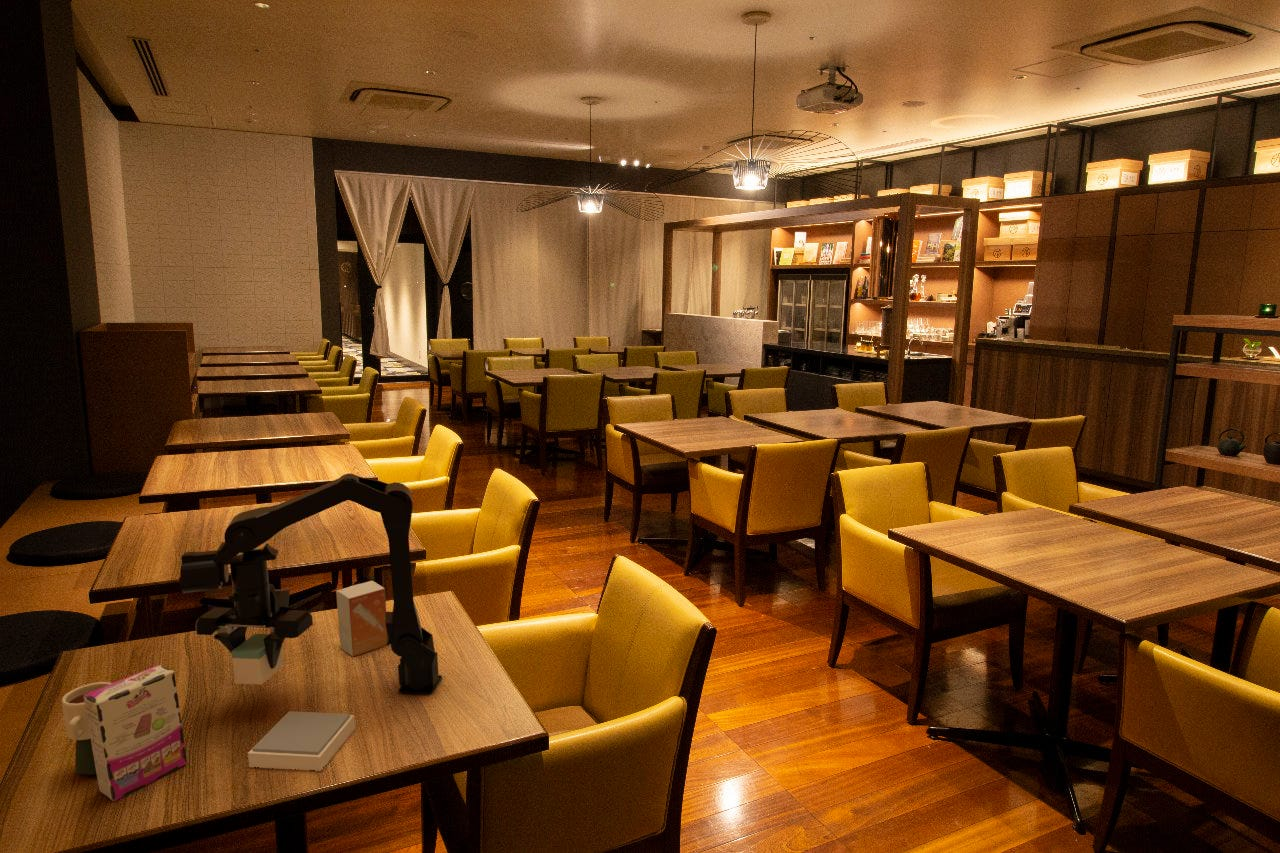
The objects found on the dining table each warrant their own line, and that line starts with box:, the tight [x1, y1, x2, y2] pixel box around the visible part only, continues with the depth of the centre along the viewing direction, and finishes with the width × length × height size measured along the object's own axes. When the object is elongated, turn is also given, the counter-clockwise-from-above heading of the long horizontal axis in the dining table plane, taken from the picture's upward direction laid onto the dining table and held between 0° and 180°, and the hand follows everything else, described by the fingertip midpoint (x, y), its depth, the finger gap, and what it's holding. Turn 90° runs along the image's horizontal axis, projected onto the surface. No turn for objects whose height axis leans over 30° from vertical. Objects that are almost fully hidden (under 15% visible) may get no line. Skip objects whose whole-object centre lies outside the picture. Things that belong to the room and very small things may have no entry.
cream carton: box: [231, 633, 284, 686], centre depth 139 cm, size 5×7×6 cm
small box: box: [335, 580, 388, 658], centre depth 164 cm, size 8×6×13 cm
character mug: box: [61, 681, 113, 776], centre depth 123 cm, size 11×7×13 cm, turn 8°
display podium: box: [247, 710, 356, 772], centre depth 129 cm, size 12×12×3 cm
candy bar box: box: [83, 664, 188, 802], centre depth 120 cm, size 11×5×16 cm, turn 148°
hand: (259, 667), depth 139 cm, fingers closed on cream carton, 5 cm apart
